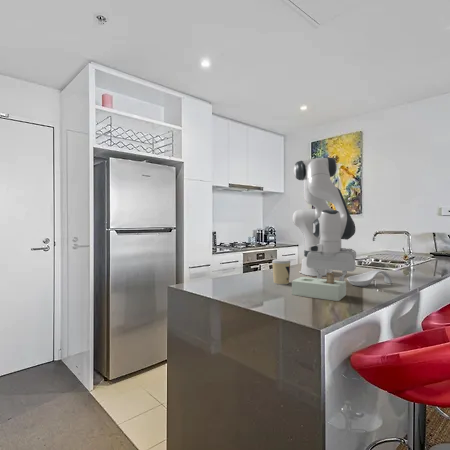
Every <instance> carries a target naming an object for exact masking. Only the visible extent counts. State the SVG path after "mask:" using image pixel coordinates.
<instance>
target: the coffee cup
mask: <svg viewBox="0 0 450 450" xmlns="http://www.w3.org/2000/svg"><path fill="white" fill-rule="evenodd" d="M271 263H272V275H273V276H272V278H273V284H275V285H281V286H282V285H289V284H290V276H291V275H290V274H291V273H290V272H291V260H290V259H287V258H275V259H272V261H271Z"/></svg>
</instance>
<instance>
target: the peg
mask: <svg viewBox="0 0 450 450" xmlns="http://www.w3.org/2000/svg"><path fill="white" fill-rule="evenodd" d="M326 279H327V283H330V284H334V280H335V273H334V272H332V273H327V276H326Z"/></svg>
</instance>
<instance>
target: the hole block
mask: <svg viewBox="0 0 450 450" xmlns="http://www.w3.org/2000/svg"><path fill="white" fill-rule="evenodd" d="M291 295H292V296H298V297H299V296H300V297H306V298H314V299H319V300H321V299H322V300H326V301H334V302H339V301H341V300H343V298H344V297H345V296H346V295H347V281H346V280H344V281H339V280H336V279H334V284H330V283H327V278H321V279H317V277H309V276H308V277H307V276H300V277H297V278H295V279H293V280H292V281H291Z"/></svg>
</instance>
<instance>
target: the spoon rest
mask: <svg viewBox="0 0 450 450" xmlns="http://www.w3.org/2000/svg"><path fill="white" fill-rule="evenodd" d="M378 274H382V275H383V276H384V278H383V279H384V283H385V284H390V285H391V284H393V280H392V277H391V275H390V274H389V273H388V272H386V271H385V270H381V269H372V270H369V271H367V272H364V273H359V274H356V275H350V276H348V277H347V278H346V280H347V282H349V284H351V285H353V286H355V287H361V288H362V287H368V286H369V285H371V283H372V282H373V281H374V279H375V277H376V276H377V275H378Z"/></svg>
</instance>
